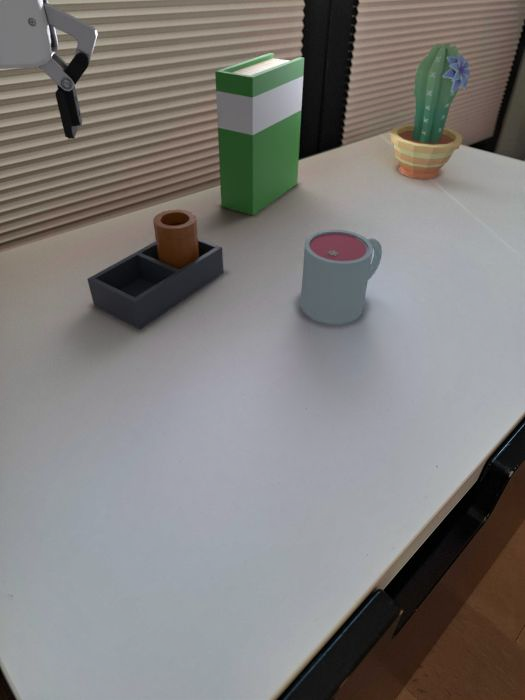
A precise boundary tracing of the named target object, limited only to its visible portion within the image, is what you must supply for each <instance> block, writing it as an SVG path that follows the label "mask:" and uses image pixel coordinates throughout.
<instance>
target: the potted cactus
mask: <svg viewBox="0 0 525 700" xmlns="http://www.w3.org/2000/svg"><path fill="white" fill-rule="evenodd" d="M470 76H471V69H470V63H469V61H468V60H467V59H465V57H464V56H463V55H462V54H461V53H460V52H459V50H458V47H457V45H456V44H455V45H450V43H444V45H442V44H440V43H436V44H435V45H433V47H432V48H431V49H430V50H429V51H428V52H427V54H426V55H425V56H424V57H423V59H421V61H420V63H419V64H418V66H417V67H416V70H415V76H414V85H413V96H414V102H415V109H414V110H415V111H414V121H413V123H409V124H401V125H398V126H395V127H393V128H392V129H391V131H390V142H391V143H392V144H393V149H394V150H393V151H394V156H395V158H396V160H397V162H398V164H399V167H398V172H399V173H400V174H402V175H403V176H405V177H409V178H412V179H421V180H427V179H434V178H435V177H437V176H439V171H440V169H441V168H442V167H444V166H445V165H446V164H447V163H448V162H449V160H450V159H451V157H452V155H453V154H454V152H455V151H456V150H459V148H460V146H461V144H462V143H463V135H462V134H460V133H459V132H457V131H456V130H453V129H451V128H447V127H445V125H446V122H447V118H448V115H449V110H450V108H451V105H452V103H453V101H454V99H455V98H456V95H457V94H458V92H459V89H460V87H462V90H465V89H466V88H467V84H468V80H469V78H470Z"/></svg>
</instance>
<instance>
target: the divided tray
mask: <svg viewBox="0 0 525 700" xmlns="http://www.w3.org/2000/svg"><path fill="white" fill-rule="evenodd" d="M198 247H199V258H198V259H196V260H195V261H193V262H191V263H190V264H188V265H187V266H185V267H183V268H182V269H180V270H179V269H177V268H174V267H172V266H170V265H168V264H165V263H163V262H161V261H159V258H158V251H157V244H156V240H155V241H153V242H152V243H150V244H148V245H146V246H144V247H143V248H140V249H139V250H136V251H135V252H133V253H132V254H129V255H128V256H125V257H124V258H123V259H120V260H119V261H117V262H115V263H112V264H111V265H109V266H108V267H106V268H104V269H102V270H100V271H98V272H97V273H95V274H93V275H91V276H89V277H88V278H87V279H86V280H87V283H88V284H87V285H88V287H89V291H90V295H91V299H92V302H93V306H94V307H96V308H97V309H99V310H101V311H103V312H105V313H107V314H108V315H111V316H112V317H114V318H116V319H118V320H120V321H122V322H123V323H126V324H128V325H129V326H131V327H133V328H135V329H137V330H139V331H141V330H142V329H144V328H145V327H146V326H149V325H150V324H151V323H153V322H154V321H155V320H157V319H158V318H160V317H162V315H164V314H165V313H167V312H168V311H170V310H171V309H173V308H174V307H176V306H178V305H179V304H180V303H182V302H183V301H185V300H186V299H188V298H189V297H190V296H192V295H194V294H195V293H197V292H198V291H199V290H201V289H203V288H204V287H205V286H206V285H208V284H210V283H211V282H212V281H214V280H215V279H217V278H219V277H220V276H221V275H223V274H224V255H223V253H224V251H223V246H221V245H218V244H216V243H213V242H211V241H208V240H205V239H203V238H200V237H198Z"/></svg>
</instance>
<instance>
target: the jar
mask: <svg viewBox="0 0 525 700" xmlns="http://www.w3.org/2000/svg"><path fill="white" fill-rule="evenodd" d="M152 220H153V229H154V237H155V241H156V244H157V251H158V258H159V261H161V262H163V263H165V264H168V265H170V266H172V267H174V268H177V269H179V270H180V269H182V268H183V267H185V266H187V265H188V264H190V263H191V262H193V261H195V260H196V259H198V258H199V247H198V238H199V236H198V235H199V234H198V226H197V215H195V214H194V212H192V211H189V210H185V209H168V210H164V211H161V212H160V213H157V214H156V215H155V216H154V217H153V219H152Z"/></svg>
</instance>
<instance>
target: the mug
mask: <svg viewBox="0 0 525 700" xmlns="http://www.w3.org/2000/svg"><path fill="white" fill-rule="evenodd" d="M303 253H304V254H303V264H302V265H303V267H302V278H301V279H302V280H301V293H300V308H301V310H302V311H303V313H304V315H306V316H307V317H308V318H310V319H311V320H314V321H316V322H318V323H321V324H327V325H345V324H348V323H352V322H354V321H355V320H357V319H359V318H360V317H361V315H362V313H363V310H364V304H365V300H366V293H367V288H368V281H369V280H370V279H371V278H372V277H373V276H374V274H376V271H377V269H379V265H380V263H381V260H382V255H383V249H382V245H381V243H380V241H379V240H377V239H376V238H373V237H372V238H371V237H369V238H366V237H365V236H363V235H361V234H359V233H356V232H354V231H349V230H343V229H325V230H320V231H316V232H314V233H312V234H310V235H309V236H308V237H307V238H306V239H305V241H304V250H303Z"/></svg>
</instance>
